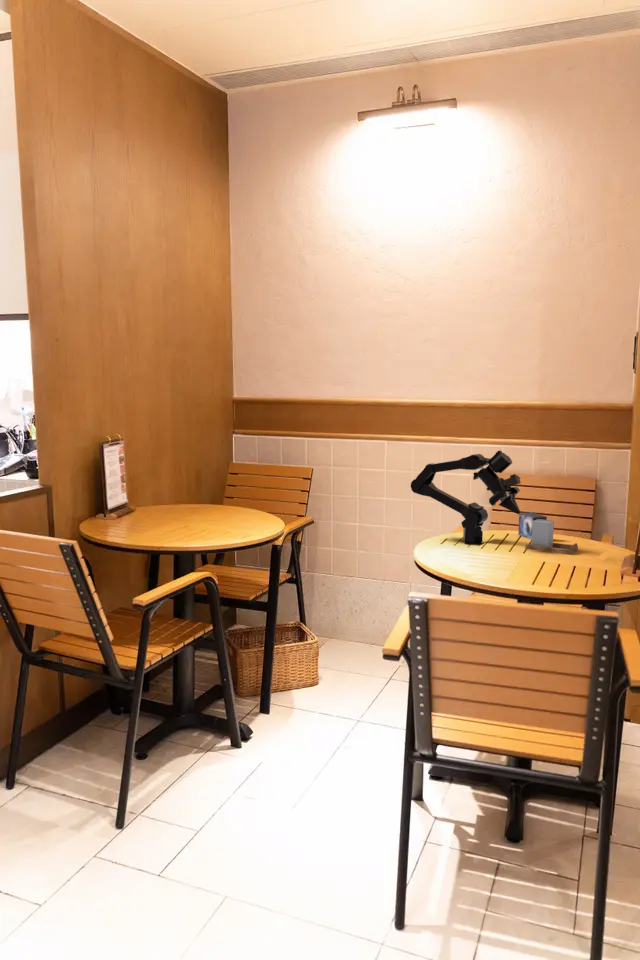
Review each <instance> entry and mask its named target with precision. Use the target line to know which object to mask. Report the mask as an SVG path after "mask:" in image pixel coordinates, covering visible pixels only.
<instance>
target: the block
mask: <svg viewBox="0 0 640 960" xmlns="http://www.w3.org/2000/svg"><path fill="white" fill-rule="evenodd" d="M554 529H555V520H549V519H547V520H542V519H537V520H534V521H533V526H532V539H531V544H530V545H537V546H545V547H553V543H554V532H555V531H554Z"/></svg>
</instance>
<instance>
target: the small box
mask: <svg viewBox="0 0 640 960" xmlns="http://www.w3.org/2000/svg"><path fill="white" fill-rule="evenodd" d="M547 518H548V516H546V515H542V514H539V513H536V512H534V511H533V512H532V511H531V512H529V511H528V512H521V513H520V514H518V535H519V536H520V537H523V538H526V539H528V540H532V526H533V521H534V520H537V519H542V520H548V519H547Z"/></svg>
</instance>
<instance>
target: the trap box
mask: <svg viewBox="0 0 640 960" xmlns="http://www.w3.org/2000/svg"><path fill="white" fill-rule="evenodd" d="M524 548H525V550H532V551H538V552H539V551H540V552H545V553H546V552H547V553H554V554H561V555H568V556H569V555H570V556H571V555H572V554H574V553H575V552H577V551H578V550H579V545H578V543H576V542H575V543H574V544H566V543H559V542H553V547H545V546H537V545H531V544H529V543H528V544H525V547H524Z"/></svg>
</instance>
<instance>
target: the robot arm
mask: <svg viewBox="0 0 640 960" xmlns="http://www.w3.org/2000/svg"><path fill="white" fill-rule="evenodd" d="M512 464H513V460H512V459H511V457H510V456H509V455H507V454H506V453H504V452H503V451H502V450H501V449H500V450H498V451H496V452H495V453H494V455H493V456H492V457H490V458H488V457H484V455H483V454H481V453H475V454H469V455H467V456H464V457H461V458H459V459H454V460H449V461H448V460H447V461H441V462H431V463H430V462H429V463H427V464H426V465H425V467H424V468H423V470H422V471H421V472H420V473H419V474H418V475H417V476H416V477H415V479H412V481H411V482H410V489H411V491H412V493H414V494H417V495H419V496H423V497H424V496H425V497H429V498H432V499H433V500H435V501H436V502H439V503H441V504H443V505H444V506H446V507H448V508H449V509H452V510H453V511H456V512H457V513H459V514H460V515H461V516H462V517H463V518H464V519H463V520H462V521H461V527H462V529H463V534H462V539H461V542H463V544H465V545H482V544H483V538H484V537H483V536H484V535H483V531H482V527H483V525H484V523H485V522H486V521H487V520H488V518H489V513H488V511H487V509H485V506H482V505H479V503H477V502H471V503H466V502H464V501H462V500H460V499H458V498H456V497H455V496H453V495H451V494H449V493H447V492H445V491H444V490H442V489H440V488H438V487H437V486H436V485H435V484H434V483H433V481H434V478H435V476H436V474H437V473H441V472H447V471H454V470H456V471H457V470H464V471H466V470H467V471H469V470H470V471H475V472H473V478H472V479H473V480H474V481H476V480H478V479H479V480H481V482H482V483H483V484H484V485H485V487H486V490H487V492H488V491H490V492H491V494H492V495H491V497H489V499H488V503H489V504H490V505H491V507H494V506H496V505H497V504H496V503H498V502H499V501H500V503H499V504H498V506H499V507H503V508H504V509H507V510H509V511H510V512H512V513H514V514H516V515H519V514H520V513H522V512H521V510H520V508H519V506H518V505H519V504H518V503H517V502H516V496H517V494H518V493H519V492H520V491H521V490H520V488H519V487H518V486H516V485H519V484H521V477H520V476H519V475H518V474H516V473H513V474H511V475H510V476H509V477H508V478H506V479H504V477H499V475H498V473H499V474H502V473H503V472H504V471H506V470H507V468H508V467H509V466H511V465H512ZM484 466H486V467H484ZM479 469H480V470H479ZM476 470H479V471H476Z"/></svg>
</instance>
